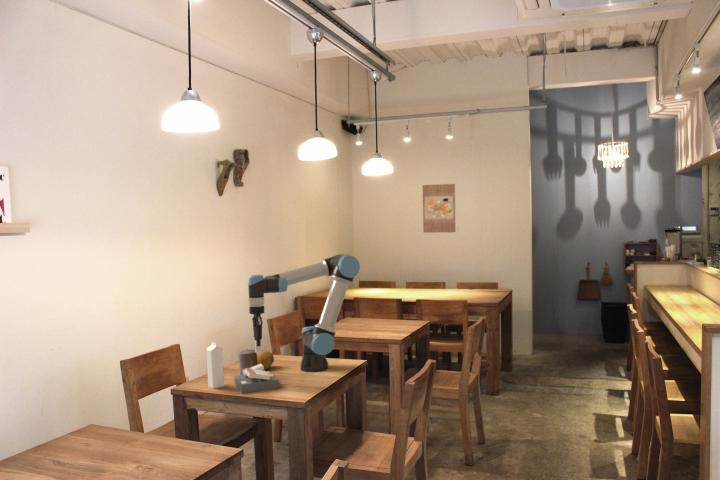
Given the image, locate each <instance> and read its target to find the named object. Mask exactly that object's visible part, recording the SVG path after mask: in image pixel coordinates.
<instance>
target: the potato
mask: <svg viewBox="0 0 720 480" xmlns="http://www.w3.org/2000/svg"><path fill="white" fill-rule="evenodd" d="M274 362H275V357H274V355H273V353H272V352H271V351H270V350H267V349H265V350H264V349H263V350H261V352H260V353H257V365H259V364H262V365H263V367H264V370H263V371H266V370H268V369H269V368H270V367H271V366H272V365H273V364H274Z"/></svg>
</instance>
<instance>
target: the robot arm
mask: <svg viewBox="0 0 720 480" xmlns="http://www.w3.org/2000/svg"><path fill="white" fill-rule="evenodd" d="M360 269H361V265H360V262H359V259H358V258H356V257H355V256H354V255H352V254H341V253H340V254H336V255H333V256H331V257H328V258H324V259H322V260H321V261H319V262H317V263H313V264H310V265H305V266H301V267H298V268H295V269H291V270H287V271H284V272H280V273H277V274H272V275H265V276H264V275H262V274H251V275H249V276H248V282H247V283H248V284H247V285H248V299H247V302H248V305H249V307H248V308H249V310H248V311H249V312H248V313H249V315H253V317H252V318H251V320H252V328H253V329H252V330H253V338H254V347H255V349H254V350H255V352H256V353H257V354H258V353H260V352H261V351H262V339H263V317H261V315H262V314H264V313H265V306H264V305H265V294H274V293H284V292H285V293H286V292H287V291H288V286H291V285H296V284H298V283H303V282H306V281H309V280H314V279H317V278H320V277H324V276H325V277H327V278H328V277H331V278H332V282H331V285H330V288H329V291H328V293H327V297H326V300H325V303H324V306H323V309H322V312H321V314H320V317H319V320H318V323H316V324H314V325H313V326H305V327H302V329H301V337H302V339H301V341H302V342H301V343H302V358H301V362H300V366H299V367H300V371H302V372H303V371H304V372H310V373H311V372H321V371H324V370H325V371H326V370H327V369H328V368H329V361H328V359H327V356H326V355H328V354H330V353H331V352H332V351H333V350H334V349H335V336H336V330H335V326H336V324H337V320H338V317H339V314H340V312H341V309H342V305H343V302H344V299H345V296H346V294H347V291H348V288H349V286H350V285H351V284H353V281H354V279H355V277H356V276H357V275H358V274H359V272H360Z"/></svg>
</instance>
